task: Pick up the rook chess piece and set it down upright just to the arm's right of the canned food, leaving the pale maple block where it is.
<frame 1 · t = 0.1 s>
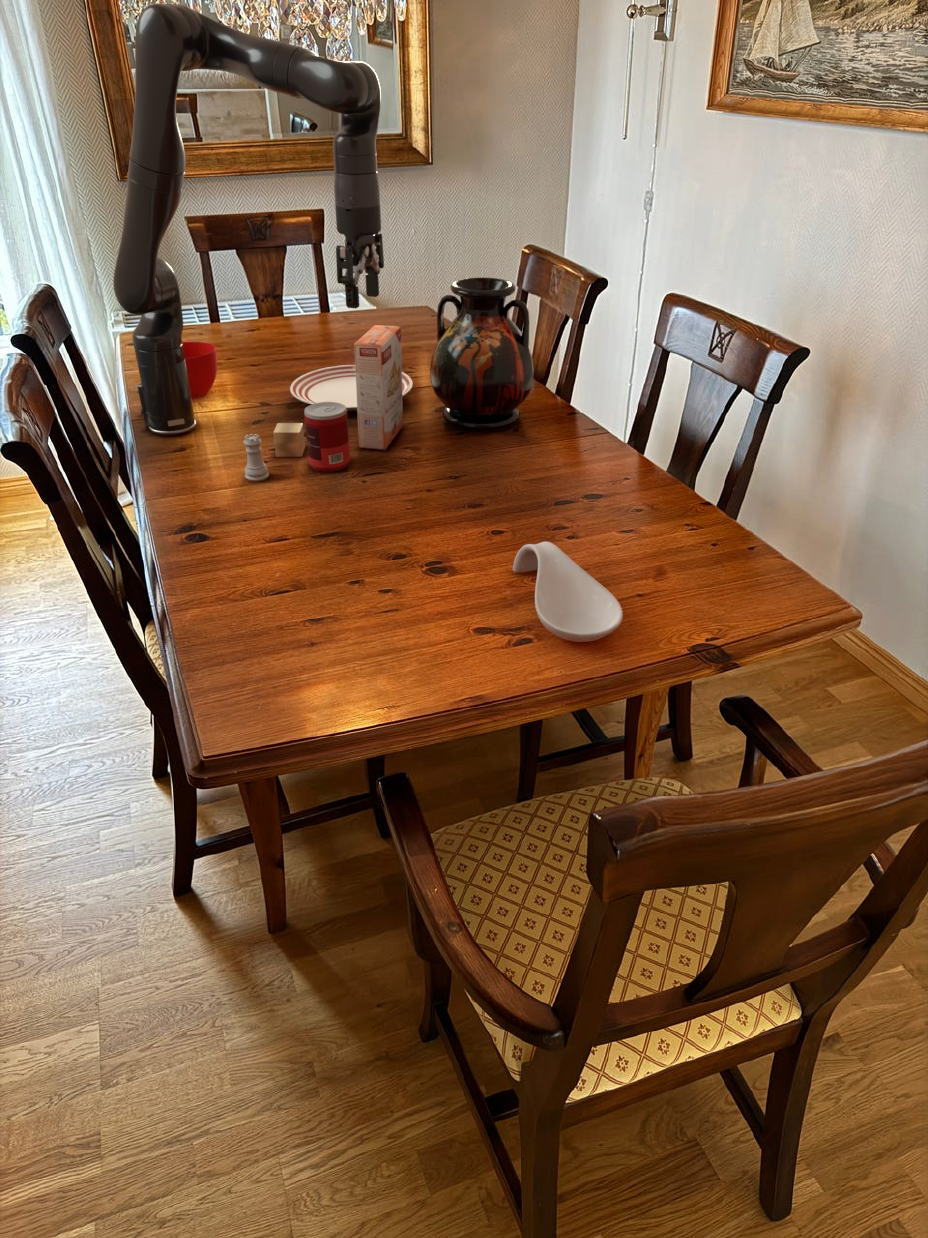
hand: (363, 301, 159), 29 cm above the table, tool pointing down, fingers open, 8 cm apart
cracker box: (382, 438, 183), on the table
spoon rest: (557, 610, 128), on the table
canned food: (330, 465, 171), on the table
dinner plate: (352, 398, 203), on the table
rook chess piece: (257, 478, 166), on the table
ceramic cup: (196, 391, 207), on the table
amphora vase: (481, 421, 191), on the table
maple block: (290, 451, 176), on the table
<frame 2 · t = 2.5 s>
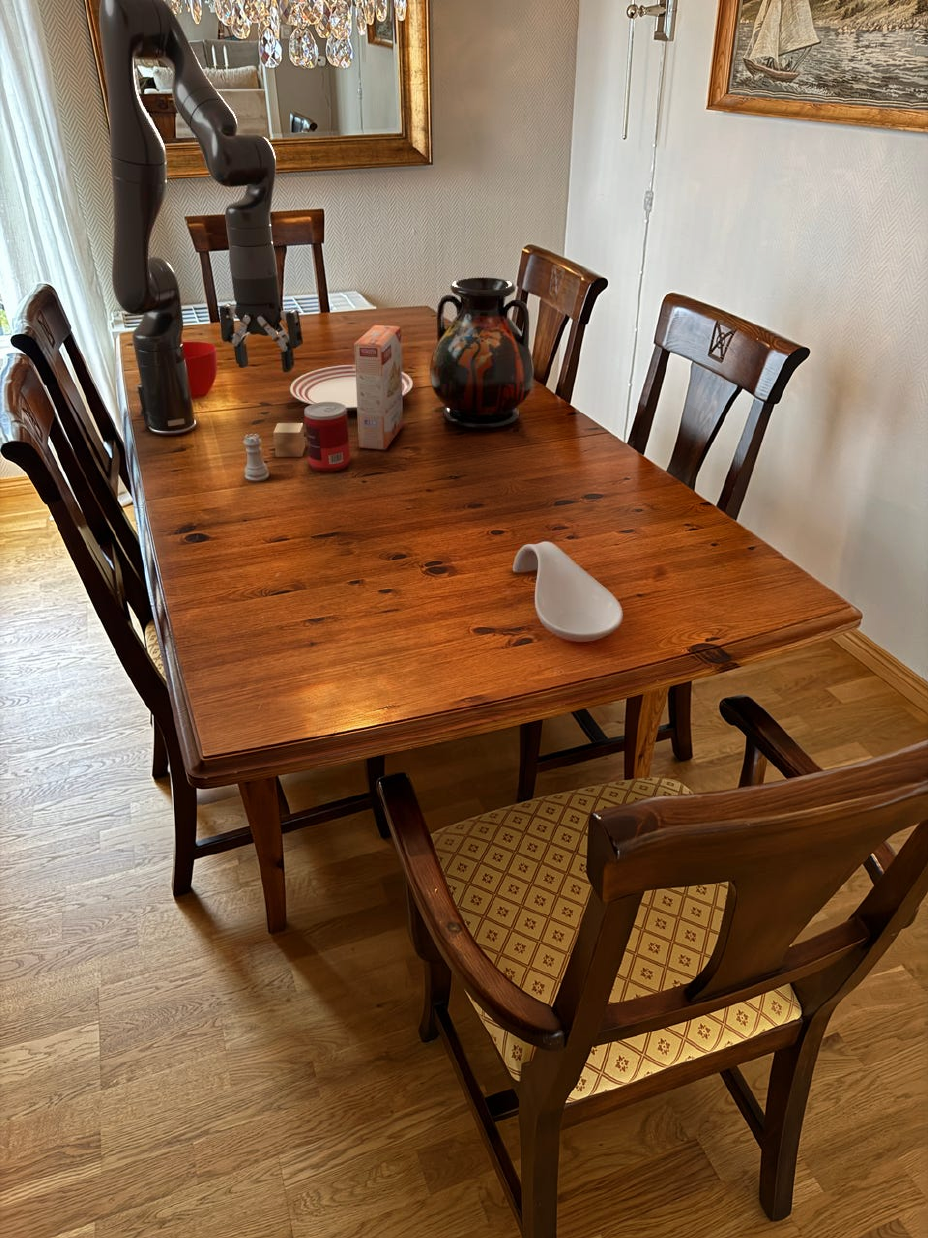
hand: (265, 368, 157), 20 cm above the table, tool pointing down, fingers open, 8 cm apart
nothing on the table moved.
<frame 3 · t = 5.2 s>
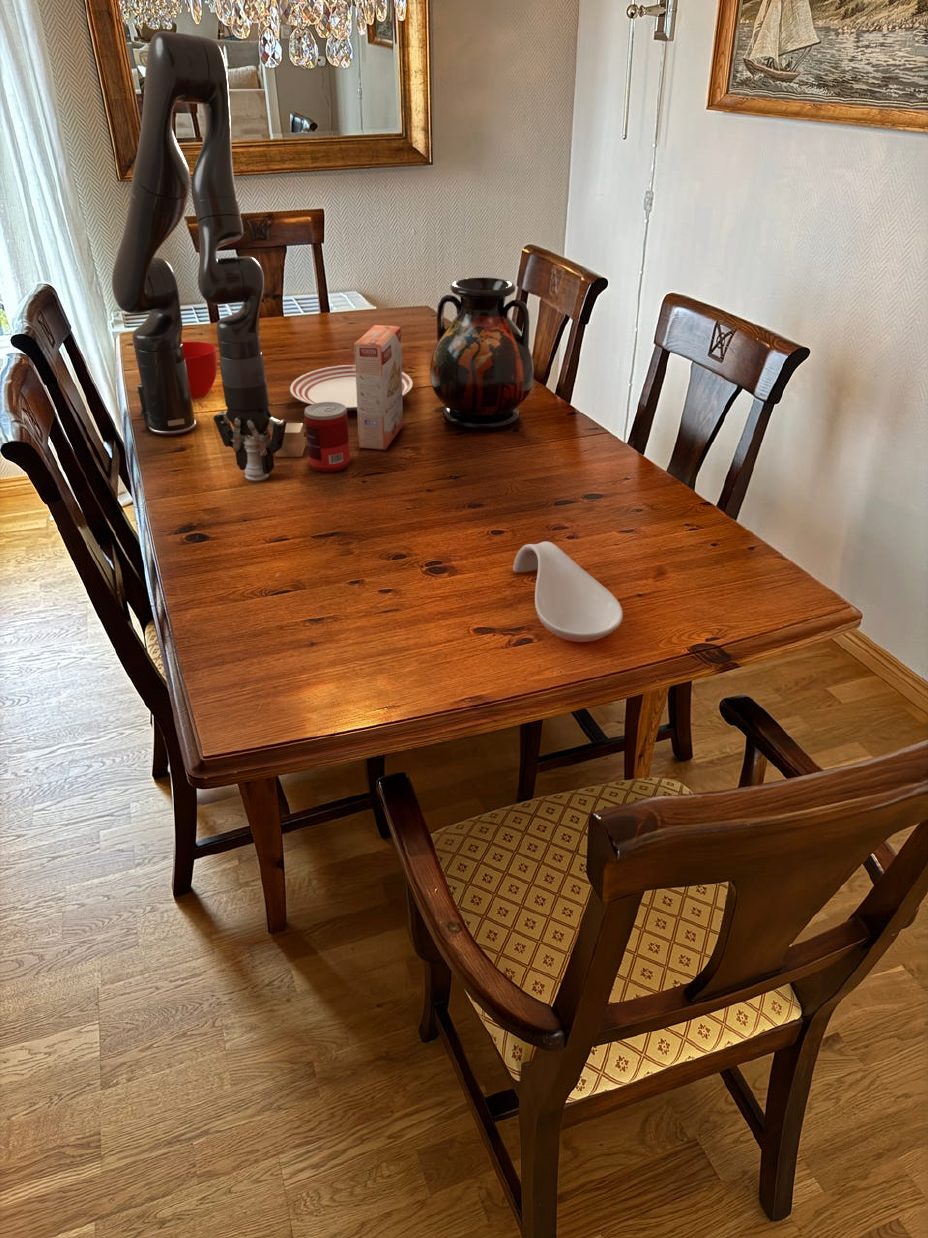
hand: (256, 469, 165), 2 cm above the table, tool pointing down, fingers closed on rook chess piece, 4 cm apart
rook chess piece: (257, 478, 166), on the table, touching gripper
everything else where it was.
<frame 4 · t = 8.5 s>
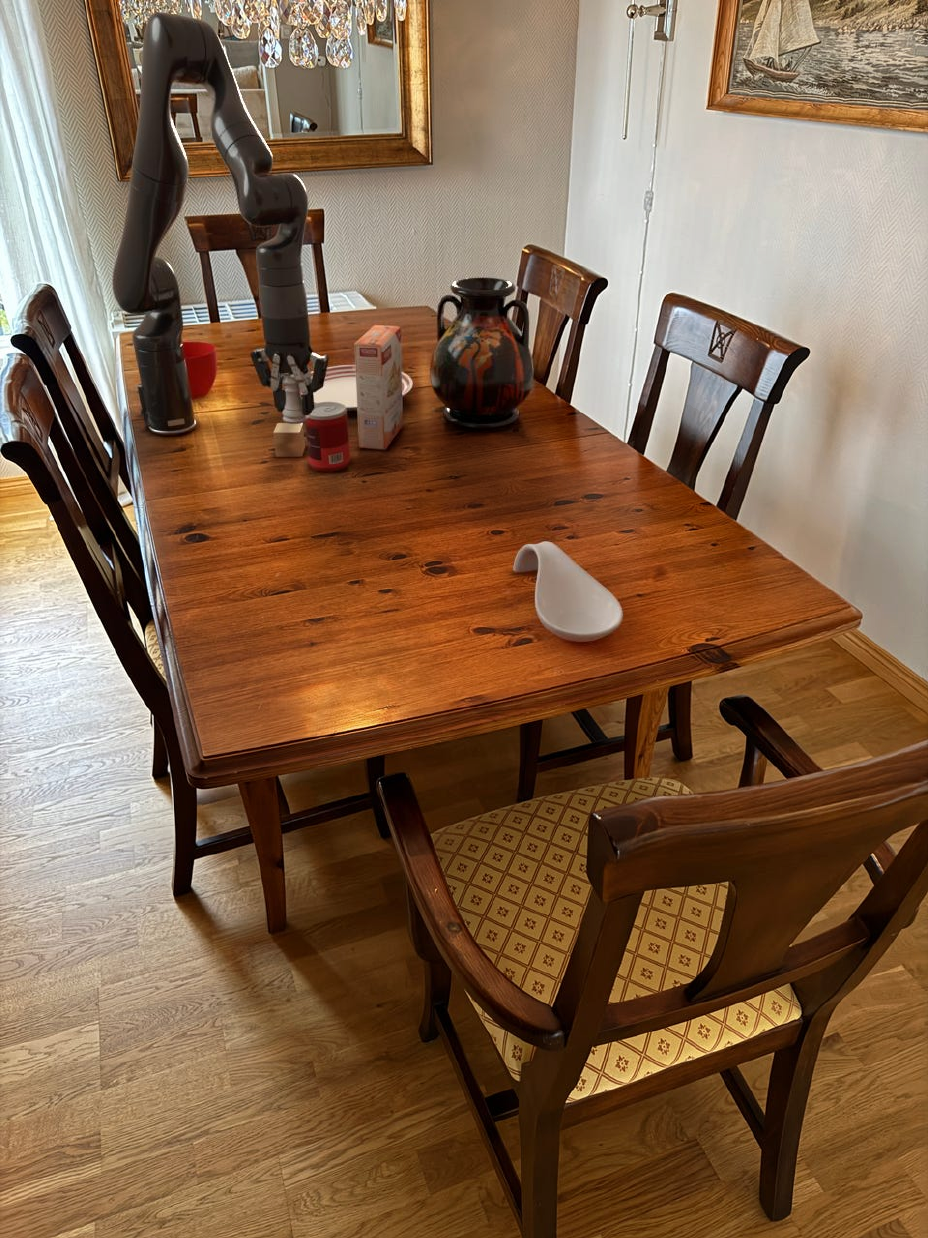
hand: (294, 411, 155), 14 cm above the table, tool pointing down, fingers closed on rook chess piece, 4 cm apart
rook chess piece: (296, 421, 156), point 12 cm above the table, touching gripper
everything else where it was.
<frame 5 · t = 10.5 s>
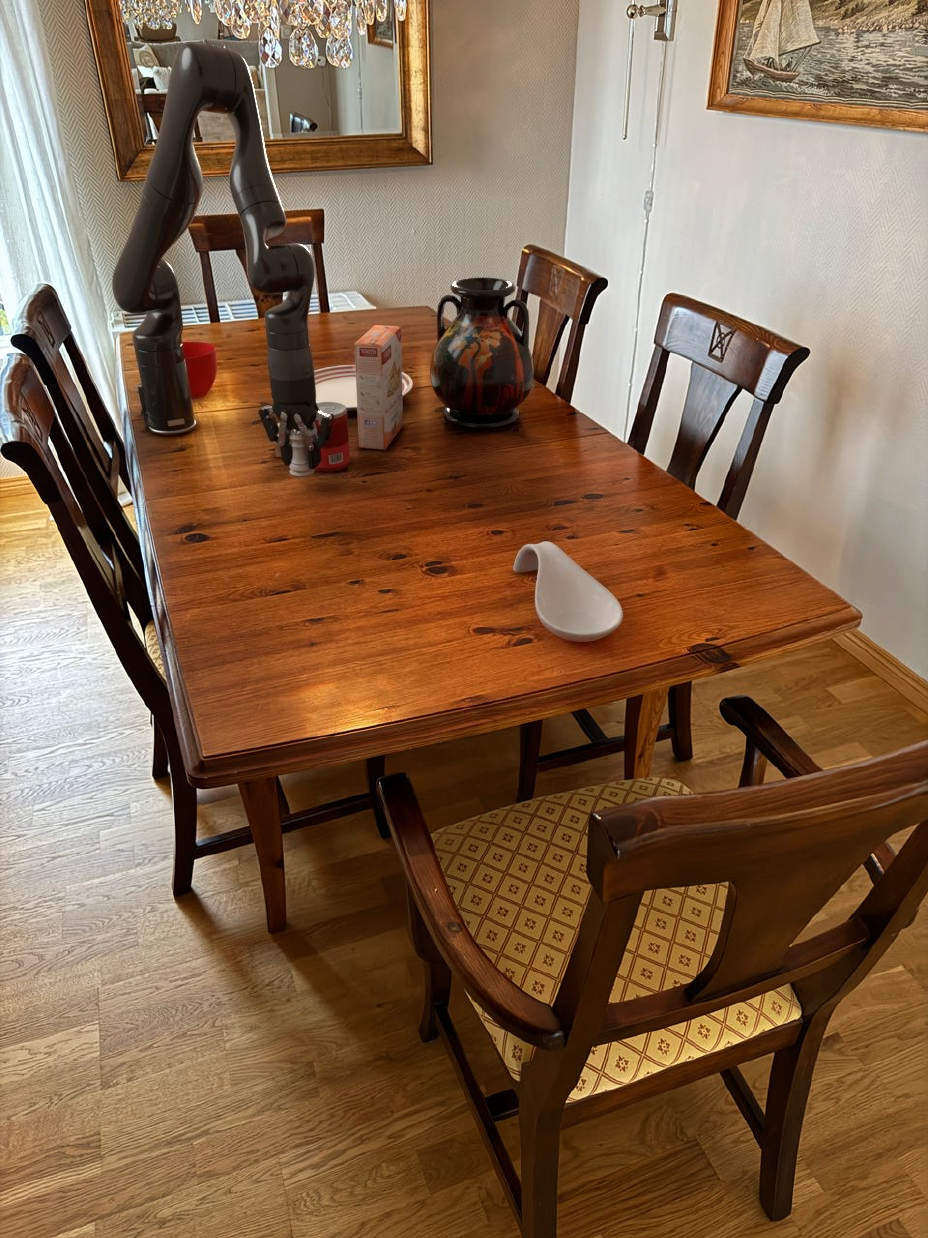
hand: (301, 465, 160), 4 cm above the table, tool pointing down, fingers closed on rook chess piece, 4 cm apart
rook chess piece: (302, 474, 161), point 3 cm above the table, touching gripper
everything else where it was.
when the fingers open (2 cm above the table, at t = 11.7 s): rook chess piece stays where it is, on the table.
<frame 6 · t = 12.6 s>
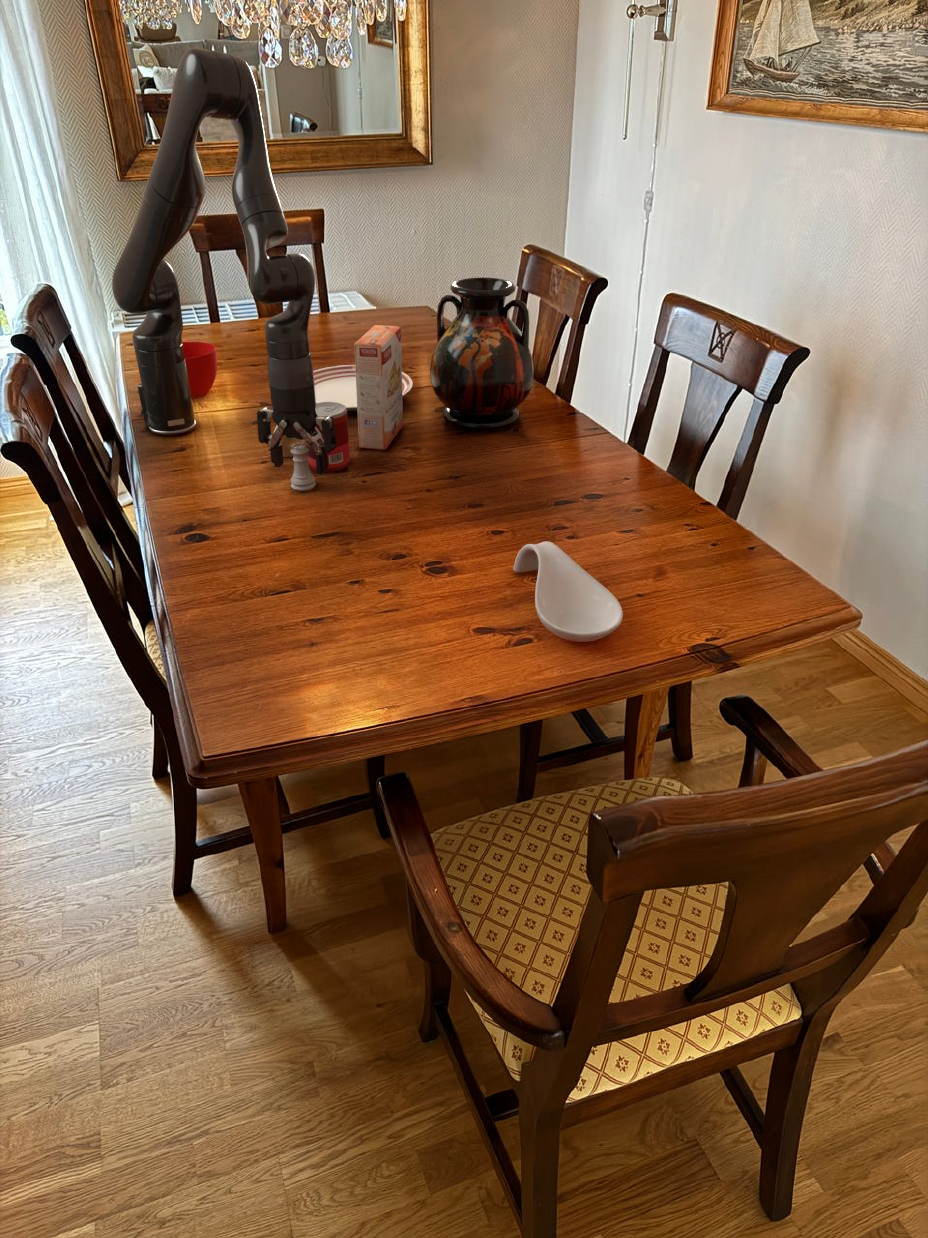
hand: (300, 468, 161), 4 cm above the table, tool pointing down, fingers open, 8 cm apart
rook chess piece: (303, 488, 163), on the table
everything else where it was.
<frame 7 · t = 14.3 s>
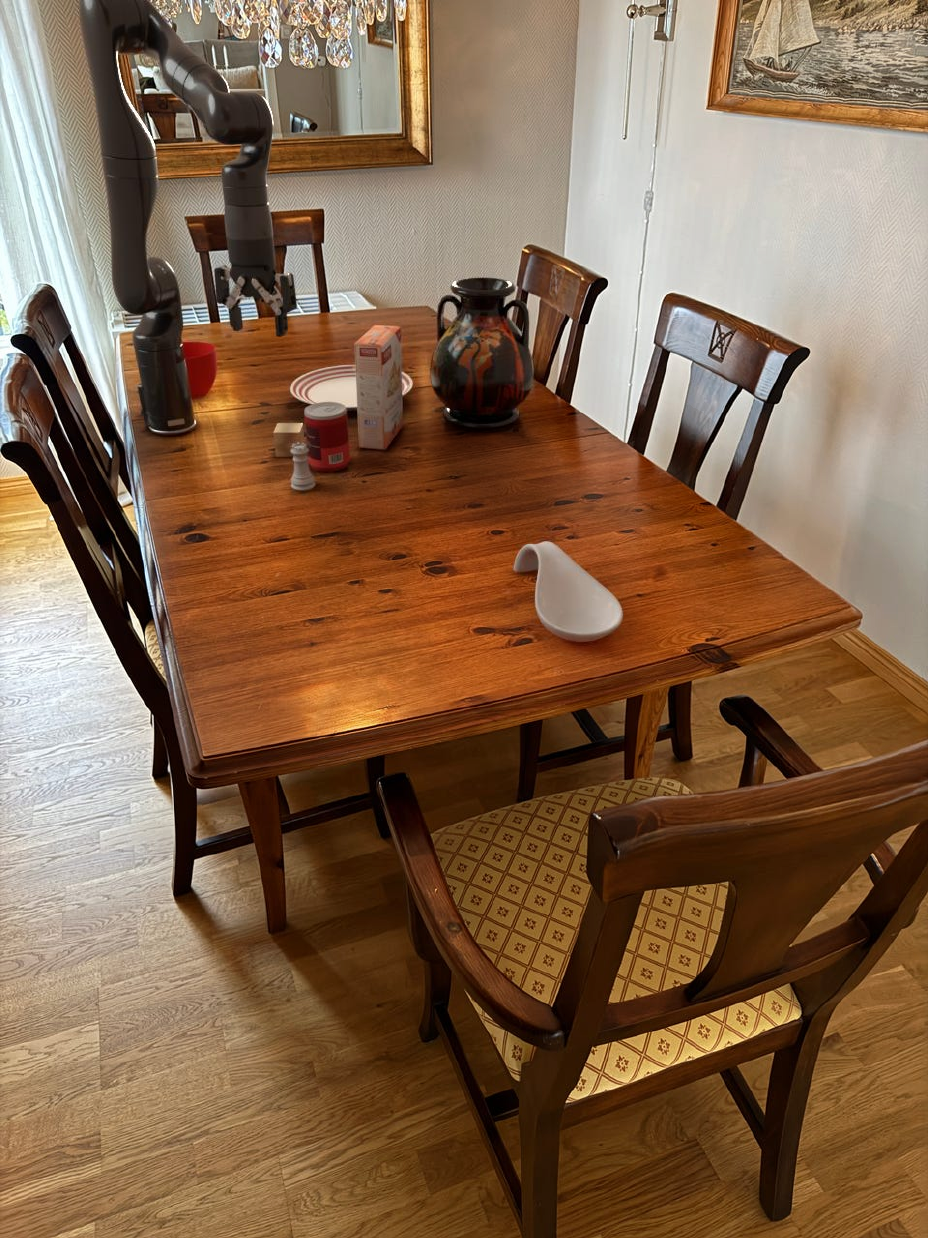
hand: (259, 332, 156), 25 cm above the table, tool pointing down, fingers open, 8 cm apart
nothing on the table moved.
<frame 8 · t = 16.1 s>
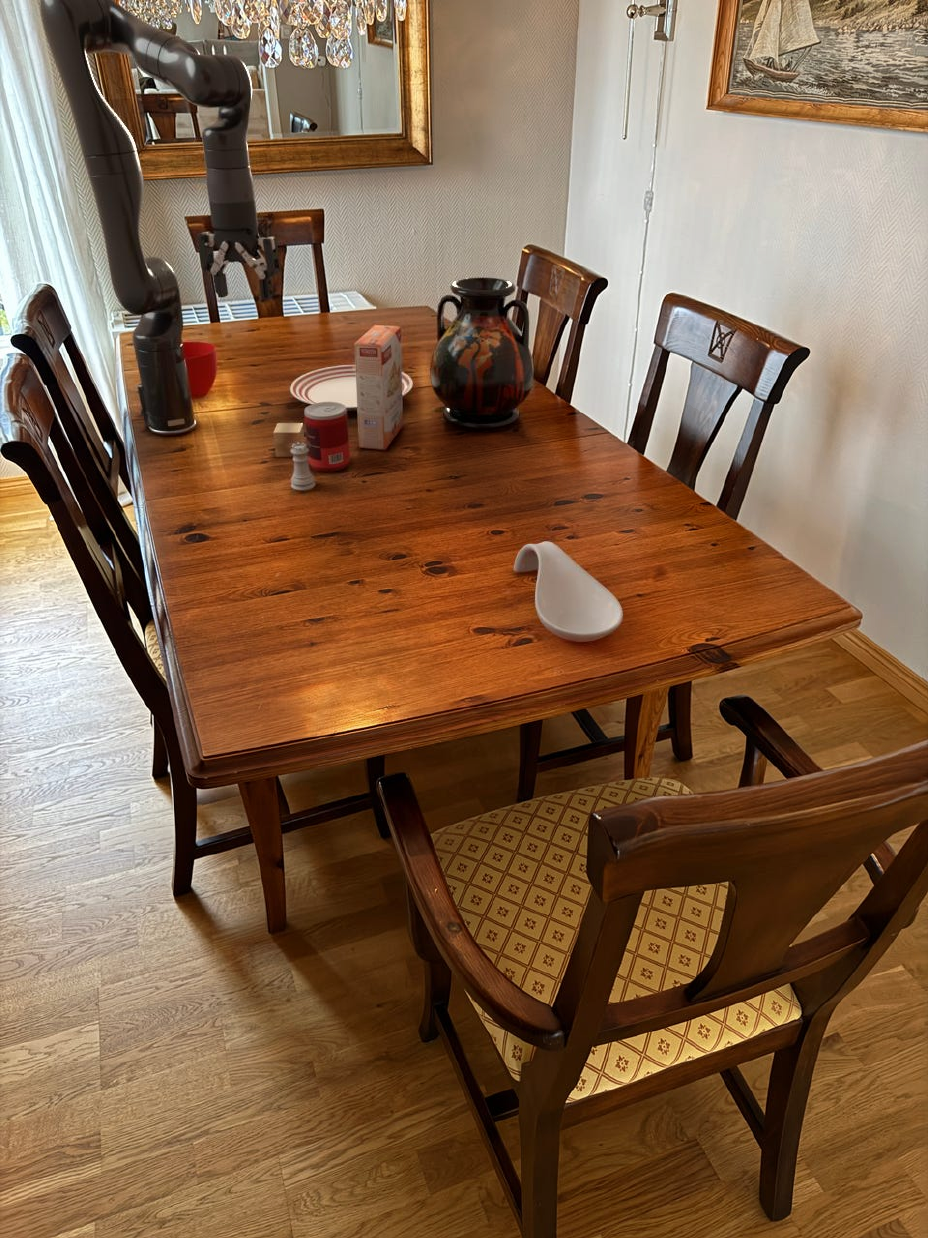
hand: (244, 298, 157), 30 cm above the table, tool pointing down, fingers open, 8 cm apart
nothing on the table moved.
at the end: rook chess piece inside the target area on the table beside the canned food (0.4 cm from its centre), on the table; rook chess piece tilted 0°; canned food moved 0.2 cm from its start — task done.
